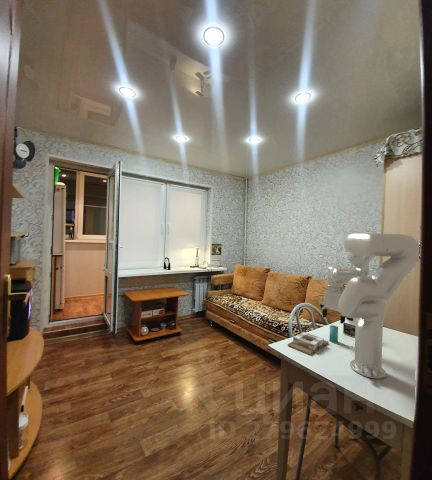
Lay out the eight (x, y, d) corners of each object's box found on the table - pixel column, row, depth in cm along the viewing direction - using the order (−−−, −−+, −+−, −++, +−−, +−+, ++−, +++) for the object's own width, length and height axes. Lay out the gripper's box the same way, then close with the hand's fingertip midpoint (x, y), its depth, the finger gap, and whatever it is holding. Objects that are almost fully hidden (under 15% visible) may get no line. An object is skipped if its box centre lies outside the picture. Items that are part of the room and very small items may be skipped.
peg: (337, 343, 119) (338, 328, 119) (329, 342, 120) (329, 327, 120) (337, 340, 122) (337, 326, 122) (329, 339, 124) (329, 324, 124)
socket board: (310, 355, 106) (310, 348, 106) (287, 345, 115) (287, 339, 115) (328, 343, 119) (328, 336, 119) (306, 335, 128) (306, 329, 128)
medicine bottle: (342, 333, 132) (343, 313, 132) (347, 330, 136) (347, 311, 136) (356, 338, 126) (357, 317, 126) (360, 334, 131) (361, 314, 131)
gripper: (354, 291, 116) (353, 324, 117) (323, 284, 131) (322, 313, 131) (347, 293, 112) (346, 327, 113) (315, 286, 127) (314, 316, 127)
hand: (333, 319), depth 122 cm, fingers open, 9 cm apart
